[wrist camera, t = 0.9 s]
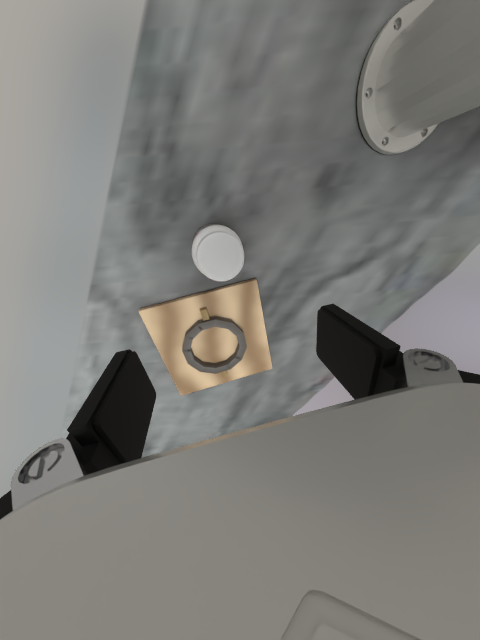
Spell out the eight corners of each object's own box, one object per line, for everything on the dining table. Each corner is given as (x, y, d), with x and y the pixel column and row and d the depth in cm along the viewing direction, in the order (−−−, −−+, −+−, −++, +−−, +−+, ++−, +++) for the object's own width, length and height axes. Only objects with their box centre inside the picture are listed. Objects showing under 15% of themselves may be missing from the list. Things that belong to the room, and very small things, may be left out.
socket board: (255, 278, 31) (259, 282, 29) (270, 365, 40) (274, 373, 37) (140, 308, 30) (135, 315, 28) (181, 391, 38) (180, 401, 36)
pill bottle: (186, 256, 28) (181, 272, 19) (201, 215, 26) (203, 212, 17) (223, 272, 30) (234, 294, 21) (240, 235, 28) (259, 242, 19)
